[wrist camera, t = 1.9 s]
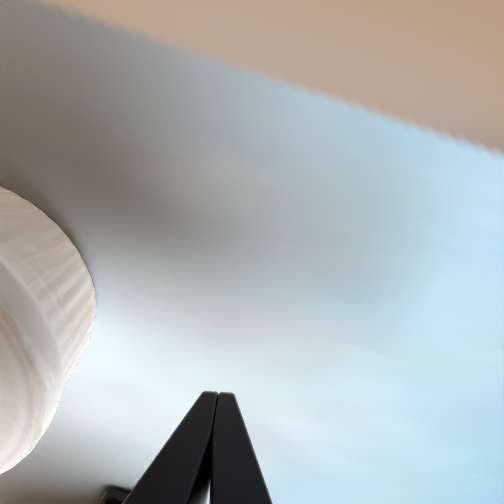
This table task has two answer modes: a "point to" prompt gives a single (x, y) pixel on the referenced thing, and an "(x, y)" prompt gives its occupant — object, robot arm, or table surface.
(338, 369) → the table surface
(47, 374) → the ramekin
